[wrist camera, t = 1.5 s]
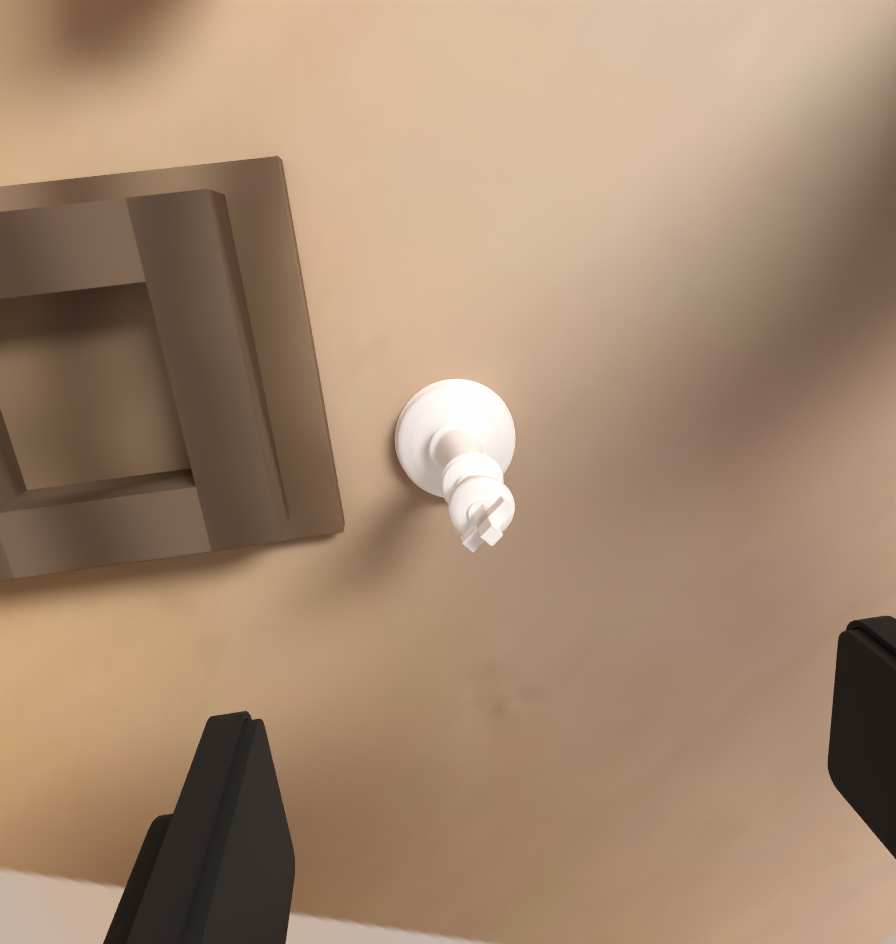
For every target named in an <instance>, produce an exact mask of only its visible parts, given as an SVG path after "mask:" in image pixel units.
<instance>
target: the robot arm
mask: <svg viewBox="0 0 896 944" xmlns="http://www.w3.org/2000/svg"><path fill="white" fill-rule="evenodd" d="M828 770H829V774H830V777H831V780H832V782H833V784H834V785H835V787H836V788H837V790H838V791H839V792H840V793H841V794H842V796H843V797H844V798H845V799H846V800H847V802H848V803H849V804H850V805H851V806H852V808H853V809H854V810H855V811H856V812H857V813H858V815H859V816H860V817H861V818H862V819H863V821H864V822H865V823H866V824H867V825H868V827H869V828H870V829H871V830H872V831H873V832H874V834H875V835H876V836H877V837H878V838H879V840H880V841H881V842H882V843H883V844H884V846H885V847H886V848H887V849H888V850H889V852H890V853H891V854H892V855H893V856H894V857H895V859H896V619H895V618H893V617H891V616H880V617H874V618H867V619H860V620H854V621H852V622H850V623H849V624H848V626H847V628H846V631H844V632H842V633H841V634H840V635H839V639H838V648H837V660H836V671H835V683H834V695H833V707H832V718H831V730H830V742H829V754H828ZM294 876H295V857H294V850H293V845H292V841H291V837H290V832H289V828H288V824H287V819H286V815H285V811H284V807H283V802H282V798H281V794H280V790H279V785H278V781H277V777H276V772H275V768H274V764H273V760H272V755H271V751H270V747H269V743H268V738H267V734H266V730H265V726H264V722H263V721H262V719H255V720H252V719H251V716H250V714H249V712H247V711H244V712H237V713H230V714H224V715H217V716H211V717H210V718H209V719H208V721H207V723H206V726H205V728H204V731H203V734H202V737H201V739H200V742H199V745H198V748H197V750H196V753H195V756H194V759H193V761H192V764H191V767H190V769H189V772H188V775H187V778H186V780H185V783H184V786H183V789H182V791H181V794H180V797H179V800H178V802H177V805H176V808H175V811H174V813H173V814H168V815H162V816H158V817H157V818H156V819H155V820H154V821H153V822H152V824H151V826H150V828H149V830H148V832H147V835H146V837H145V840H144V842H143V845H142V847H141V850H140V852H139V855H138V857H137V860H136V862H135V865H134V867H133V870H132V872H131V875H130V877H129V880H128V882H127V885H126V888H125V890H124V893H123V895H122V898H121V900H120V903H119V905H118V908H117V910H116V913H115V915H114V918H113V920H112V923H111V925H110V928H109V930H108V933H107V935H106V938H105V940H104V943H103V944H285V942H286V936H287V928H288V921H289V914H290V906H291V899H292V892H293V884H294Z"/></svg>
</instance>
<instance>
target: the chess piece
mask: <svg viewBox="0 0 896 944" xmlns="http://www.w3.org/2000/svg"><path fill="white" fill-rule="evenodd" d="M395 449H396V453H397V457H398V460H399V462H400V464H401V466H402V468H403V469H404V471H405V472H406V474H407V475H408V477H409V478H410V479H411V480H412V481H413V482H414V483H415V484H416V485H417V486H418V487H420V488H421V489H423V490H424V491H426V492H428V493H430V494H433V495H435V496H439V497H443V498H444V499H445V501H446V502H447V503H448V514H449V518H450V521H451V523H452V525H453V527H454V528H455V529H456V530H457V531H458V532H459V533H460V534H462V535H463V536H462V537H461V540H462V544H463V545H465V546H466V547H467V548H468V549H469V550H471V551H472V552H473V553H474V552H475V551H476V550H477V549H478V548H479V547H480V546H481V545H482V544H483V543H484V542H485V541H486V542H487V543H488V544H490V545H491V546H493V545H494V544H495V543H496V542H497V541H498V540H499V539H500V538H501V537H502V536H503V534H502V532H503V531H504V530H505V529H506V528H507V527H508V526H509V524H510V522H511V521H512V518H513V515H514V511H515V504H514V499H513V496H512V494H511V492H510V490H509V489H508V488H507V487H506V486H505V485H504V479H503V474H504V473H505V472H506V470H507V468H508V467H509V465H510V462H511V460H512V457H513V454H514V449H515V429H514V423H513V420H512V417H511V414H510V412H509V410H508V408H507V406H506V405H505V403H504V402H503V401H502V400H501V398H500V397H499V396H498V395H497V394H496V393H494V392H493V391H492V390H490V389H489V388H487V387H486V386H484V385H482V384H479V383H477V382H474V381H470V380H464V379H449V380H443V381H439V382H436V383H433V384H431V385H429V386H427V387H425V388H423V389H422V390H420V391H419V392H418V393H416V394H415V395H414V396H413V397H412V398H411V399H410V400H409V401H408V403H407V404H406V405H405V407H404V408H403V410H402V412H401V414H400V416H399V418H398V421H397V424H396V429H395Z"/></svg>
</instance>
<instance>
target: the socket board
mask: <svg viewBox="0 0 896 944" xmlns="http://www.w3.org/2000/svg"><path fill="white" fill-rule="evenodd" d="M344 524H345V522H344V516H343V510H342V505H341V499H340V493H339V487H338V481H337V476H336V470H335V464H334V458H333V452H332V447H331V441H330V435H329V429H328V424H327V418H326V412H325V406H324V400H323V395H322V389H321V383H320V377H319V371H318V366H317V360H316V354H315V348H314V342H313V337H312V331H311V325H310V319H309V314H308V308H307V302H306V296H305V290H304V285H303V279H302V273H301V267H300V261H299V256H298V250H297V244H296V238H295V233H294V227H293V221H292V215H291V209H290V204H289V198H288V192H287V186H286V180H285V175H284V169H283V163H282V159H281V158H279V157H278V156H275V157H266V158H257V159H248V160H239V161H230V162H221V163H211V164H202V165H193V166H184V167H175V168H166V169H157V170H148V171H139V172H129V173H120V174H111V175H102V176H93V177H84V178H75V179H66V180H57V181H47V182H38V183H29V184H20V185H11V186H2V187H0V581H1V580H8V579H15V578H22V577H30V576H37V575H44V574H51V573H59V572H66V571H73V570H80V569H87V568H95V567H102V566H109V565H116V564H124V563H131V562H138V561H145V560H153V559H160V558H167V557H174V556H182V555H189V554H196V553H203V552H211V551H218V550H225V549H232V548H239V547H247V546H254V545H261V544H268V543H276V542H281V541H284V540H291V539H298V538H305V537H313V536H320V535H327V534H334V533H341V532H343V531H344Z"/></svg>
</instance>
